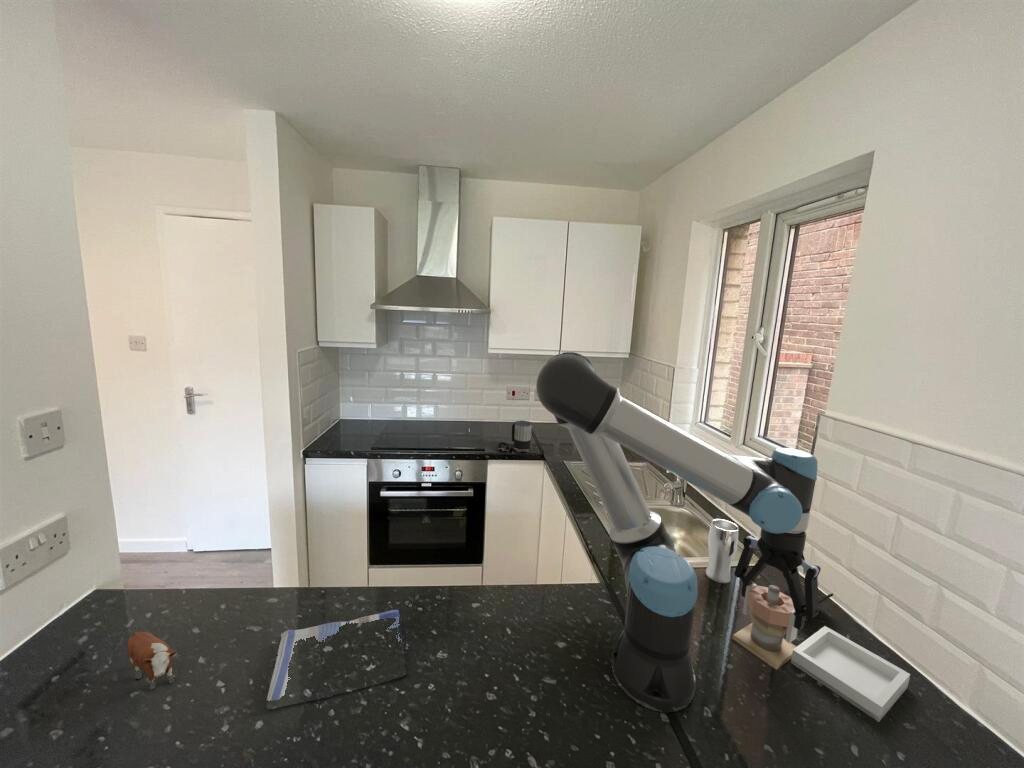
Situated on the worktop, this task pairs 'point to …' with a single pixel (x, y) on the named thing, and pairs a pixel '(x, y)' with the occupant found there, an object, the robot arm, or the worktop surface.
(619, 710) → the worktop surface
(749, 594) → the terracotta ring
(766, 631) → the oak ring
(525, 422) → the milk frother
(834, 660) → the tray
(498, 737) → the worktop surface
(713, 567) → the silver metal tumbler
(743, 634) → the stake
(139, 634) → the bull figurine
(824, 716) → the worktop surface
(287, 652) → the dish towel
